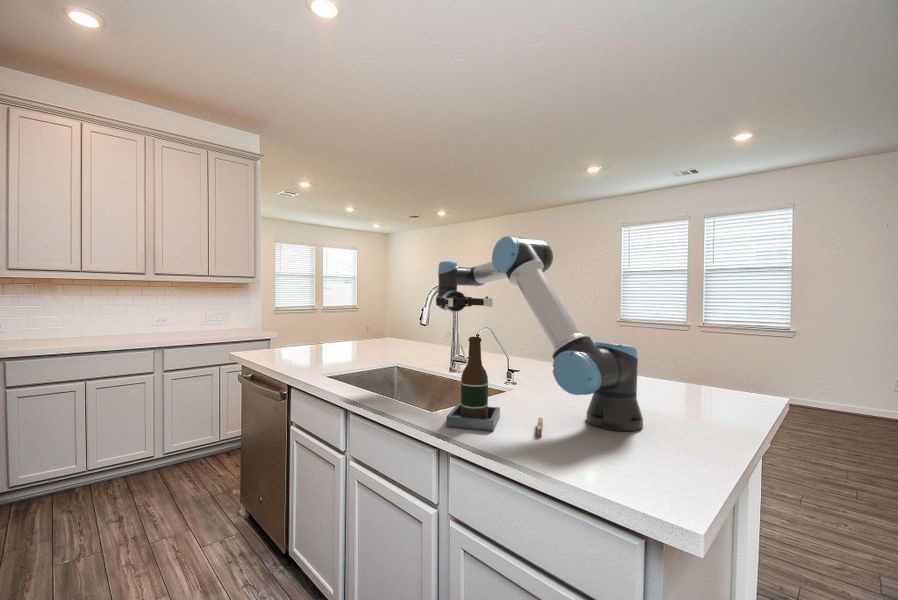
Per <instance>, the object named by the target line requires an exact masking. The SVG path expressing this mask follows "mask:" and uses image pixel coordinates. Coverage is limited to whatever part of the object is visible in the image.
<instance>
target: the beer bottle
mask: <svg viewBox="0 0 898 600" xmlns="http://www.w3.org/2000/svg"><path fill="white" fill-rule="evenodd" d="M468 342H469V345H468V355H467V356H468V357H467V365H466V366H465V367H464V369H463V370H462V374H461V380H460V383H461V384H460V404H461V417H471V418H482V419H487V416H488V407H489V379H488V374H487V371H486V369H485V368H484V366H483V363H482V348H481V347H482V346H481V343H482V338H481V337H480V336H470V337H468Z"/></svg>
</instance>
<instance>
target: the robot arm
mask: <svg viewBox="0 0 898 600" xmlns="http://www.w3.org/2000/svg"><path fill="white" fill-rule="evenodd" d="M553 260H554V253H553V250H552V247H551V246H550V245H549V244H548V243H547V242H545V240H542V239H537V238H528V237H522V236H516V235H511V236H509V235H507V236H502V237H501V238H499V240H498V241H497V242H496V243H495V245H494V247H493V250H492V255H491V261H489V262H486V263H482V264H479V265H477V266H473V267H463V266H458V262H456V261H452V260H449V261H447V260H446V261H445V260H443V261H440V262H439V263H438V270H437V271H438V272H437V274H438V287H437V295H436V297H435V304H436V305H435V306H437V307H438V308H440V309H441V310H444V311H450V312H451V313H453V312H460V311H463V310H464V308H466V307H472V306H483V307H488V308H489V307H490V308H491V307H492V308H493V298H490V297H489V296H485V297H483V298H476V297H472V296H466V295H465V294H464V293H463V292H462V291H458V286H467V287H468V286H473V287H479V286H480V287H481V286H484V285H485V284H486V283H489V282H493V281H497V280H498V281H499V280H503V279H508V281H509V282H510V284H511V285H514V286H518V288H519V290H520V292H521V294H522V295H523V297H524V299H525V301H526V302H527V304H528V306H529V308H530V309H531V312H532V313H533V315H534V316H535V318H536V320H537V322H538V324H539V326H541V327H540V328H542V331H543V332H544V334H545V336H546V338H547V339H548V341H549V343H550V344H551V346H552V349H553V352H552V354H551V358H552V359H553V363H552V367H553V369H552V375H553V378H554V380H555V381H556V383H557V385H558V386H559V387H560V388H561V389H562V390H563V391H564V392H567V393H568V394H570V395H575V396H586V395H591V394H592V397H591V399H590V402H589V405H588V408H587V409H586V417H585V418H586V422H588V423H589V424H590V425H593V426H594V427H597V428H601V429H605V430H609V431H617V432H633V431H634V432H635V431H639V430H641V429H643V427H644V417H643V414H642V411H641V408H640V405H639V401H638V399H637V398H638V396H637V395H638V393H637V390H638V362H639V358H638V349H637V348H636V347H635V345H634V346H633V345H628V344H619V343H613V342H612V343H611V342H604V341H603V342H602V341H595V342H594V341H593V340H592V338H591V336H589V335H587V334H582V333H581V331H580V329H579V327H578V326H577V325H576V324H575V323H576V322H575V321H574V319H573V318H572V316H571V315H570V314H569V312H568V310H567V309H566V306H564V304H563V301H561V299H560V297H559V295H558V294H557V292H556V291H555V290H554V288H553V286H552V284H551V283H550V281H549V280H548V278H547V276H546V275H545V272H546V271H548V270H549V269H550V268H551V266H552V265H553Z"/></svg>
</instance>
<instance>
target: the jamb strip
mask: <svg viewBox="0 0 898 600" xmlns="http://www.w3.org/2000/svg"><path fill="white" fill-rule="evenodd" d="M543 422H544V419H543V417H538V419H537V425H536V438H542V434H543Z"/></svg>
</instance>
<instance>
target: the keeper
mask: <svg viewBox="0 0 898 600" xmlns="http://www.w3.org/2000/svg"><path fill="white" fill-rule="evenodd" d="M500 415H501V407H499V406H488V416H487V419H482V418H471V417H461V403H457V404H456V405H455V406H454V407H453V408H452V410H451V411H450V412H449V413H448V414H447V415H446V423H445V425H446V426H445V427H446V428H452V429H460V430H469V431H470V430H471V431H481V432H491V433H493V432H494V431H495V429H496V427H497V424H498V422H499V419H500Z"/></svg>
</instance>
